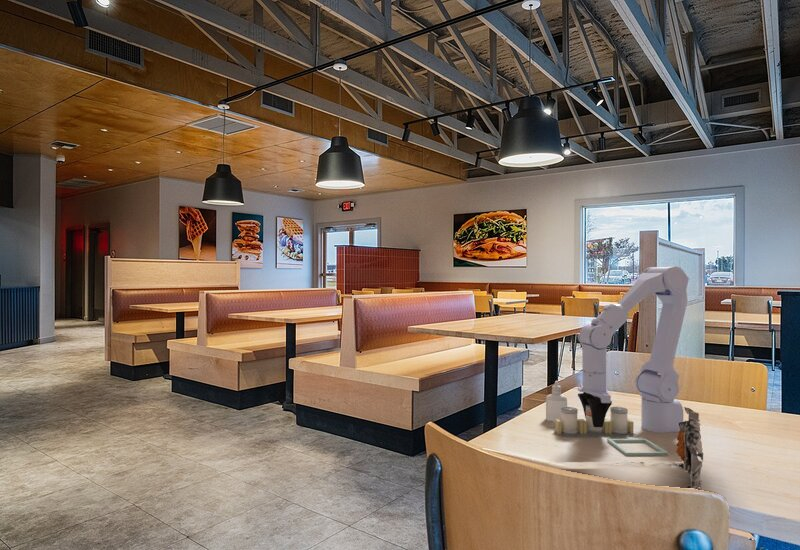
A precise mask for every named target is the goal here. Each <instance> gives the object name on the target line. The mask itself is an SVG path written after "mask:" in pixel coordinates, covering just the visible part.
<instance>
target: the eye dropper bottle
mask: <svg viewBox="0 0 800 550" xmlns="http://www.w3.org/2000/svg"><path fill="white" fill-rule="evenodd" d="M561 407H568V399H567V396H566V395H564V394H562V386H561V385H559V381H558V380H555V381H554V384H553V385H552V386H551V393H550V394H547V395H546V397H545V420H546V421H548V422H555V419H559V420H560V421H561Z"/></svg>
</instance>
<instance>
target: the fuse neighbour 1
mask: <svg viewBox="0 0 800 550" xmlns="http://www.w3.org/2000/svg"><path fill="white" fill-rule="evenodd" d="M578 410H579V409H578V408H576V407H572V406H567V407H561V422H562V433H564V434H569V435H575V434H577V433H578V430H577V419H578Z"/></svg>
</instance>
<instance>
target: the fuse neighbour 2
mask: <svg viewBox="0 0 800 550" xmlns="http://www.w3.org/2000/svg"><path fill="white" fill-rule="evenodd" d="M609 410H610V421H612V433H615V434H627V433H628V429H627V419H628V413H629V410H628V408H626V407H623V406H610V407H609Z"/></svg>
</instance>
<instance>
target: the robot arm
mask: <svg viewBox="0 0 800 550" xmlns="http://www.w3.org/2000/svg"><path fill="white" fill-rule="evenodd" d="M689 279H690V278H689V276H688V275H687V274H686V273H685V271H684V269H682V267H679V266H677V265H674V266H673V265H672V266H658V267H656V266H649V267H647V268H645V269H644V271H643V272H642V273H640V274H639V275H638V277H637V280H636V281H635V283H634V284H633V285H632V286H631V287H630V288H629V290H628V291H626V293H625V294H624V295H623V296H622V297H621V299H620V300H619V301H618V302H617V303H611V304H608V305H607V304H606V305H605V306H604V307H603V310H602V312H601V313H600V314H598V315H597V316H596V317H595V318H593V319H592V320H591V323H590V324H586V325H583V326H582V327H581V328H580V330H579V334H577V339H578V342H579V343H580V345H581V351H582V357H581V359H582V363H581V365H582V367H581V369H582V381H581V382H579V387H578V388H577V392H578V394H577V397H578V398H579V400H580V402H581V405H582V408H583V409H582V410H583V413H584V418H585V419H586V405H588V404H589V406H590V409H591V414H592V422H593V426H594V427H603V424H604V420H605V419H606V416H607V413H608V411H609V410H610V408H611V407H612V406H611V405H612V404H613V402H612V400H611V398H612V397H611V394H609V390H608V389H607V347H608V346H610V344H611V343H612V339H613V336H614V334H615V333H616V332H617V331H618V330H619V329H620V328H621V327H622V326H623V325H624V323H626V322H627V320H629V312H630V311H632V310H633V309H634V308H635V307H636V306H637V305H638V304H639V303H640V302H641V301H643V300H644V299H645V298H647V297H648V296H649V295H650V294H654V295H655V296H656V297H657V298H658V299H659V300H660V301H661V304H662V306H661V310H660V315H659V320H658V323H657V327H656V333H655V336H654V340H653V345H652V349H651V354H650V357H649V360H648V361H646V362H645V363H643V364H642V366H641V369H640V372H639V373H638V374H637V375H636V378H635V382H634V383H635V387H636V390H637V391H638V392H639V396H640V397H641V419H640V420H641V422H640V423H641V428H642V429H644V430H646V431H647V432H648V431H649V432H653V433H661V434H664V433H666V434H667V433H679V431H680V428H679V423H680V422H684V406H683V405H682V403H681V402H680V401H679V400H678V399H676V398H677V396H678V395H679V393H680V386H679V379H680V378H679V377H680V374H679V373H678V371H677V370H676V369H675V367H674V362H675V361H674V360H675V357H676V353H677V350H678V349H677V348H678V344H679V341H680V340H679V339H680V335H681V333H682V331H681V330H682V327H683V323H684V318H685V314H686V310H687V305H688V293H687V288H688V283H689ZM579 392H580V393H579Z"/></svg>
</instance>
